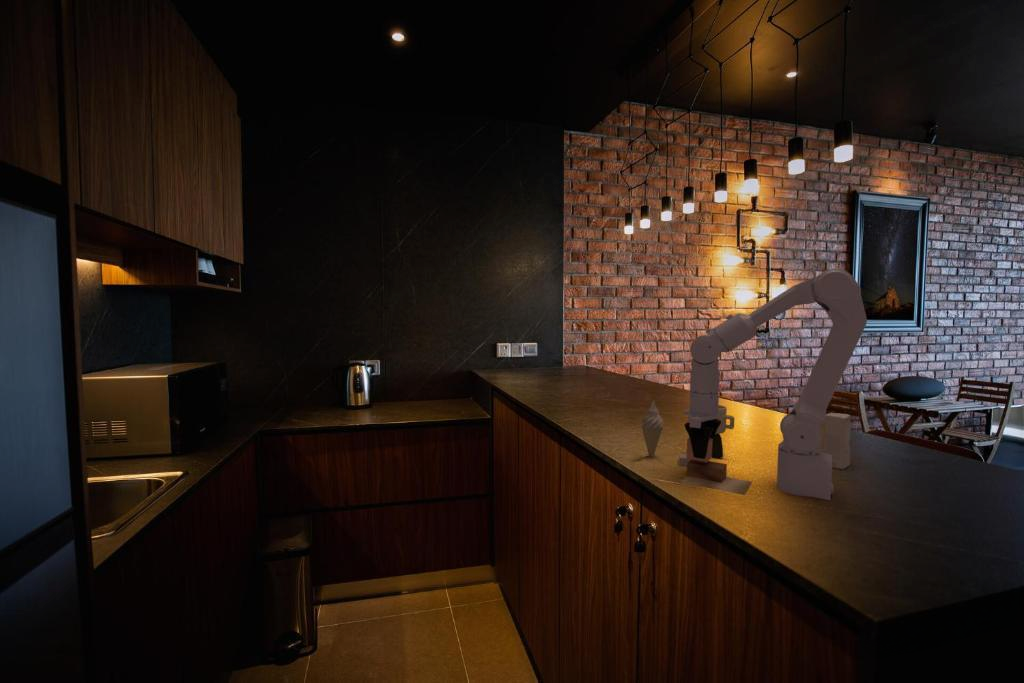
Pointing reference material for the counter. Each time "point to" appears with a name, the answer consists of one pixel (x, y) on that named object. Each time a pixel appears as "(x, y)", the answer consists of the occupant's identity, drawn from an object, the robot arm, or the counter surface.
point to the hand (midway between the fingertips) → (702, 455)
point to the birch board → (721, 484)
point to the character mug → (720, 431)
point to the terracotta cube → (707, 458)
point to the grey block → (683, 460)
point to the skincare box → (837, 439)
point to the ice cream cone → (652, 428)
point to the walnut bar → (707, 470)
